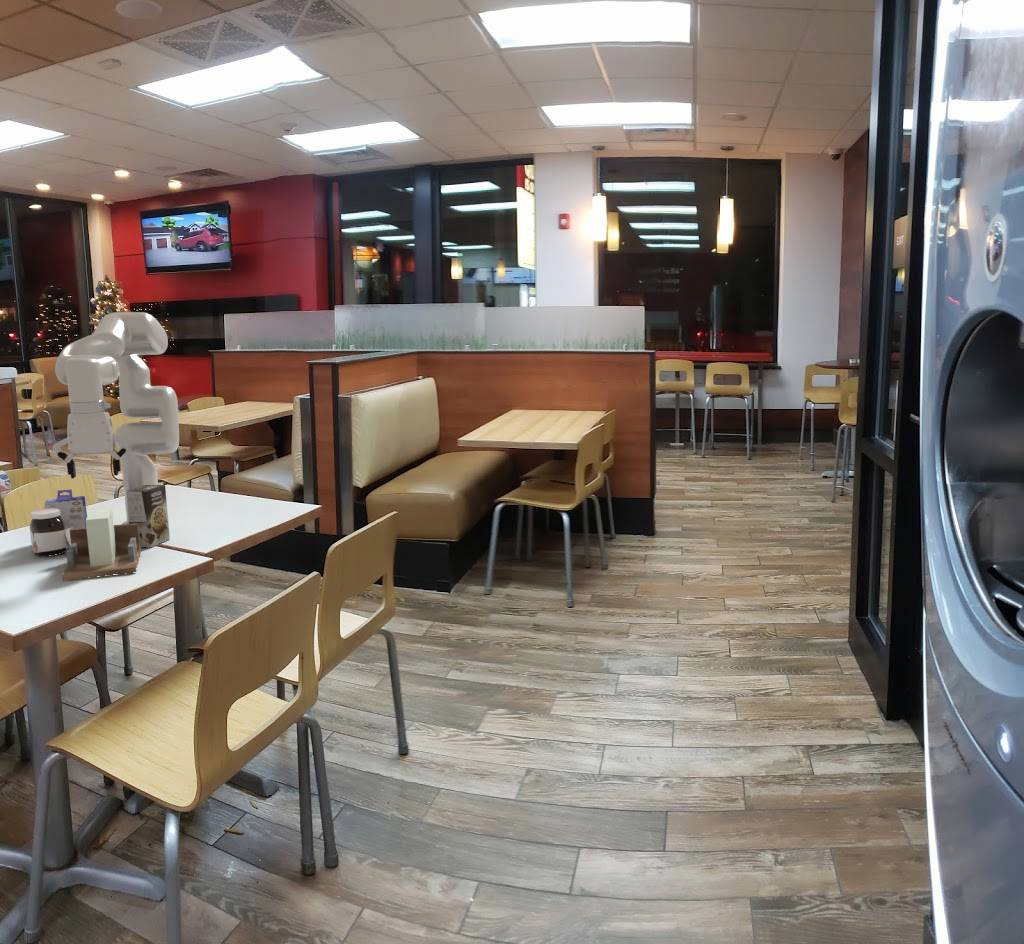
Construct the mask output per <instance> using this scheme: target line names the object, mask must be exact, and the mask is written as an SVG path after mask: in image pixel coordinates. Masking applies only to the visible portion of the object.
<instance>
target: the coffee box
mask: <svg viewBox="0 0 1024 944" xmlns="http://www.w3.org/2000/svg"><path fill="white" fill-rule="evenodd" d="M126 494H127V505H128V517H129V524H134V523H138V530H139V540H140V548H142V547H150V548H149V549H152V548H154V547H156V546H158V545H160V544H159V543H161V542H163V541H165V540H168V539H170V540H171V537H170V526H169V525H170V524H169V515H168V503H167V502H168V501H167V491H166V485H165V484H158V485H144V486H141V487H137V488H134V489H131V490H127V491H126ZM168 541H169V540H168ZM165 542H166V541H165ZM163 543H164V542H163ZM161 544H162V543H161ZM151 547H152V548H151Z"/></svg>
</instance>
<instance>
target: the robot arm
mask: <svg viewBox="0 0 1024 944" xmlns="http://www.w3.org/2000/svg"><path fill="white" fill-rule="evenodd" d="M168 341H169V340H168V334H167V332H166V329H164V327H163V326H162V325H161V323H160V322H159V321H158V320H157V319H156V318H155V317H154V316H153V315H152V314H149V313H148V312H144V311H143V312H140V311H137V312H136V311H129V312H128V311H127V312H126V311H122V312H120V311H119V312H116V311H115V312H109V313H107V314H106V315H104V316H103V317H102V318H101V320H100V321H99V324H98V325H97V327H96V328H95V330H94V332H93V333H92V334H90V335H87V336H85V337H82V338H79V339H78V340H75V341H73V342H71V343H69V344H67V345H66V346H65V347H63V348H62V351H61V352H60V353H59V355H58V357H57V359H56V362H55V366H54V367H55V368H54V370H55V376H56V378H57V380H58V381H59V382H60V383H61V384H63V385H65V386H67V390H68V391H67V392H68V399H69V400H68V401H69V408H70V414H68V415H67V424H66V425H67V426H66V428H67V430H66V431H67V432H66V433H67V434H66V435H67V437H66V438H63V439H62V440H60V441H58V442H57V443H53V445H52V446H51V448H52V450H53V451H54V452H55V454H56V456H57V457H58V458H59V459H61V460H62V461H63V462H65V463H66V468H67V469H66V470H67V475H68V476H69V475H70V478H71V479H75V478H76V477H77V473H76V462H75V461H74V458H75V456H78V455H81V456H82V455H95V454H96V455H97V454H99V455H100V454H107V453H108V454H109V455H110V456H111V457H113V459H112V467H113V475H114V476H118V474H119V472H121V475H122V486H123V494H124V504H125V505H124V506H125V513H126V514H125V515H126V521H123V522H122V523H121V525H122V524H129V517H128V505H127V494H126V491H127V490H131V489H134V488H137V487H141V486H144V485H159V483H158V482H159V481H158V470H157V466H156V464H155V463H154V461H153V460H152V459H151V458H150V457H149V456H148V455H156V454H160V455H161V454H172V453H175V452H177V450H178V448H179V446H180V445H179V444H180V427H179V426H180V423H179V421H180V420H179V404H178V397H177V394H176V391H175V390H174V389H173V388H172V387H170V386H167V385H151V374H150V373H151V371H150V368H149V367H148V366H147V364H146V363H145V362H144V360H143V359H141V358H140V356H142V355H143V356H144V355H145V356H147V355H150V356H151V355H153V356H154V355H155V356H156V355H162V354H164V353H165V352H166V350H167V349H168V346H169V342H168ZM117 380H118V385H119V387H118V389H119V391H118V392H119V395H118V396H119V407H120V412H121V414H122V415H123V416H124V417H127V418H130V419H131V418H132V419H148V418H149V419H150V418H151V419H154V418H156V419H157V418H158V419H160V420H161V421H152V422H151V421H150V422H149V421H139V422H127V423H124V424H121V425H119V426H118V427H117V428H116V429H115V432H114V428H113V422H112V419H111V416H110V413H109V412H108V411H106V410H108V409H112V402H106V401H105V399H104V390H103V386H107V385H111V384H113V383H115V382H116V381H117ZM65 445H67V448H68V451H69V454H67V453H65V452H64V451H63V450H62V448H61V447H63V446H65ZM116 447H117V450H116V449H115V448H116Z"/></svg>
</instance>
